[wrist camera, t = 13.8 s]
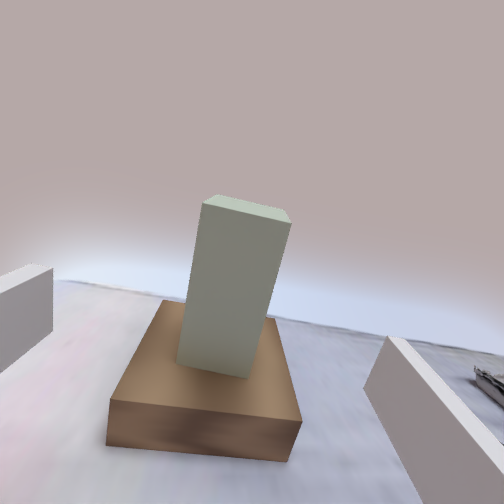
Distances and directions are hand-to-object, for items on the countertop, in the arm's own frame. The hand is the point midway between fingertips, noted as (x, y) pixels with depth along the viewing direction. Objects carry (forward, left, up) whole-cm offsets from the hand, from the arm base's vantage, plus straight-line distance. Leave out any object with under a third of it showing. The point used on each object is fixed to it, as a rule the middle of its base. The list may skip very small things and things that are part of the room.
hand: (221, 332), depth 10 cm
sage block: (0, -8, -7) cm, 10 cm away
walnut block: (0, -8, -11) cm, 14 cm away
